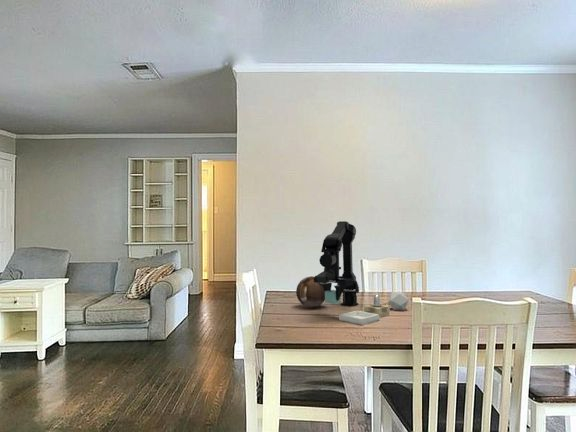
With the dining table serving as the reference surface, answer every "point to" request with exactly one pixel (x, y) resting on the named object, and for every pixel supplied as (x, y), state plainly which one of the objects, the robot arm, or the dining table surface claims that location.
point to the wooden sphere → (310, 292)
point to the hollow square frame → (377, 310)
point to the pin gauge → (376, 300)
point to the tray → (359, 317)
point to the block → (331, 297)
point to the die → (398, 301)
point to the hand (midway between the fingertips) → (332, 299)
